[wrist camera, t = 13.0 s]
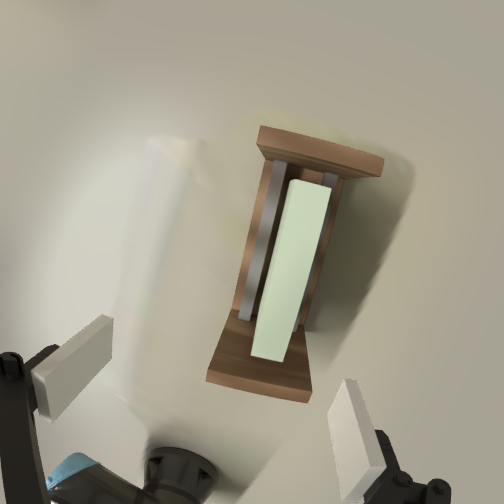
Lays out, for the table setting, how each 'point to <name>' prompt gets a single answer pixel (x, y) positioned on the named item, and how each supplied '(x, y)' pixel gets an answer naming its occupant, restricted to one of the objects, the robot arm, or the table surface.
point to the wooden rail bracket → (259, 256)
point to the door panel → (289, 267)
